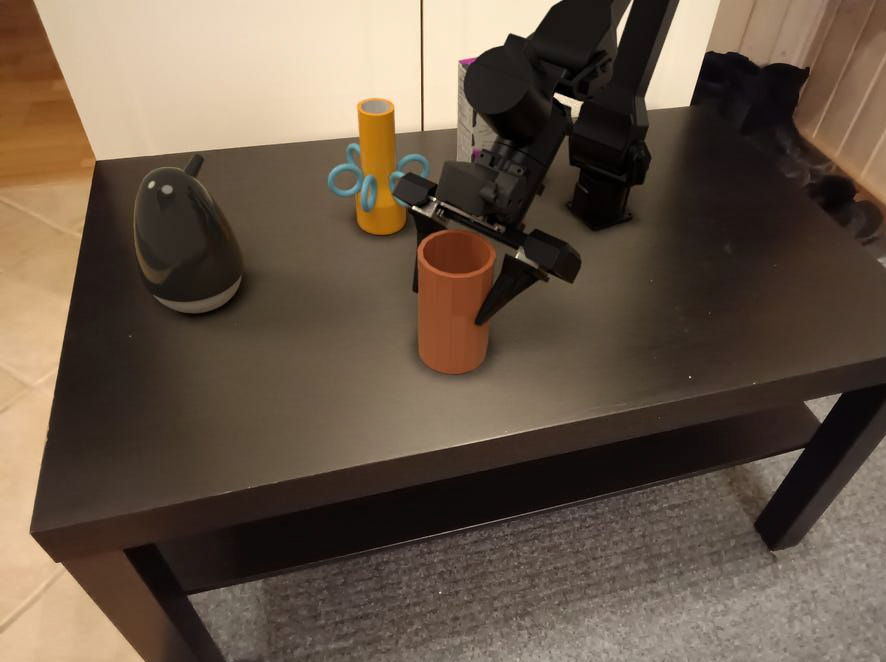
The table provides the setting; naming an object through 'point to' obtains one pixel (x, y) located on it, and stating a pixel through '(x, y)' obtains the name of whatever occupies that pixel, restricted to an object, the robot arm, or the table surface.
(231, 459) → the table surface
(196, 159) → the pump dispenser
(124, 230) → the table surface
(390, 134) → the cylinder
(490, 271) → the pot
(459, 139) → the candy bar box
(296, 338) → the table surface
